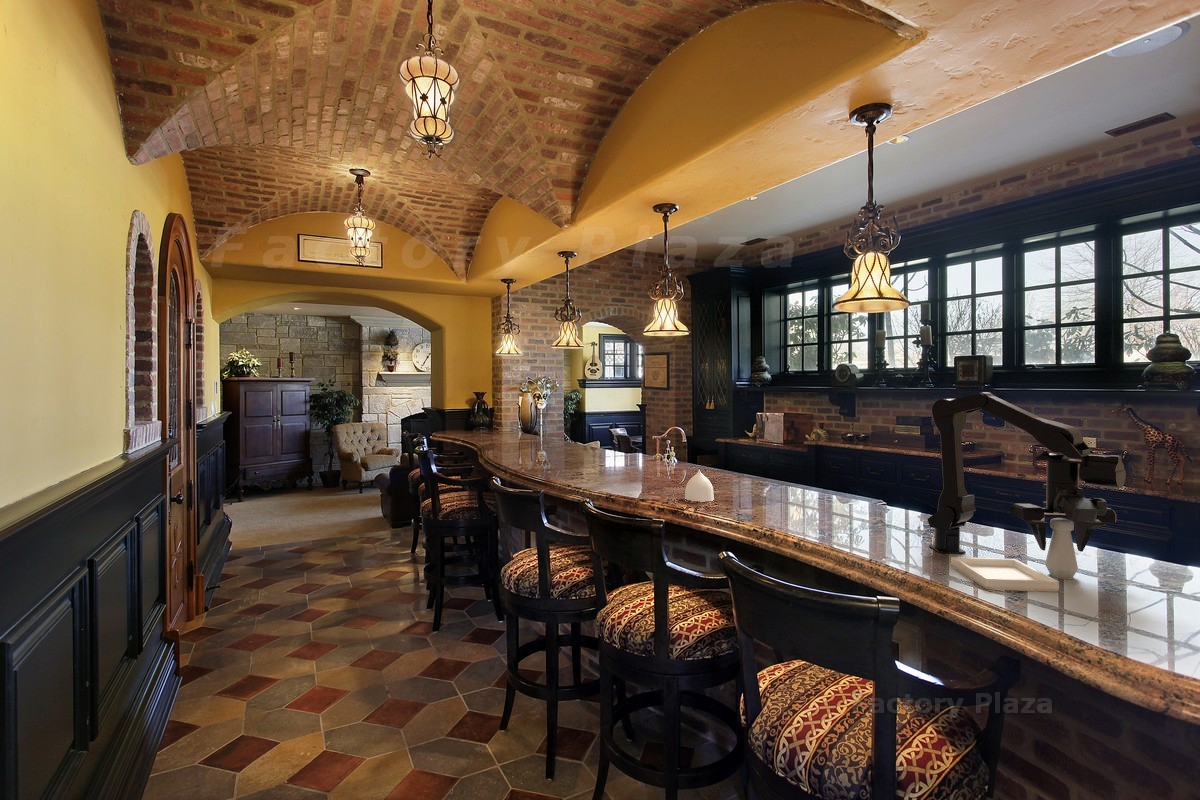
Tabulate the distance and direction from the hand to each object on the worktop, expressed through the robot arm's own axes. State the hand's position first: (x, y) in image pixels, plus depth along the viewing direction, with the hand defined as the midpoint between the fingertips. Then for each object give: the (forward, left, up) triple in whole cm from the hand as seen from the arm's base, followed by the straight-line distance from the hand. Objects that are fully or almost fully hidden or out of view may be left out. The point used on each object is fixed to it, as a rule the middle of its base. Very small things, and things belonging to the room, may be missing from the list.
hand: (1061, 550), depth 131 cm
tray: (+3, -14, -6) cm, 15 cm away
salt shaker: (0, 0, -6) cm, 6 cm away
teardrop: (-80, -78, -6) cm, 112 cm away
